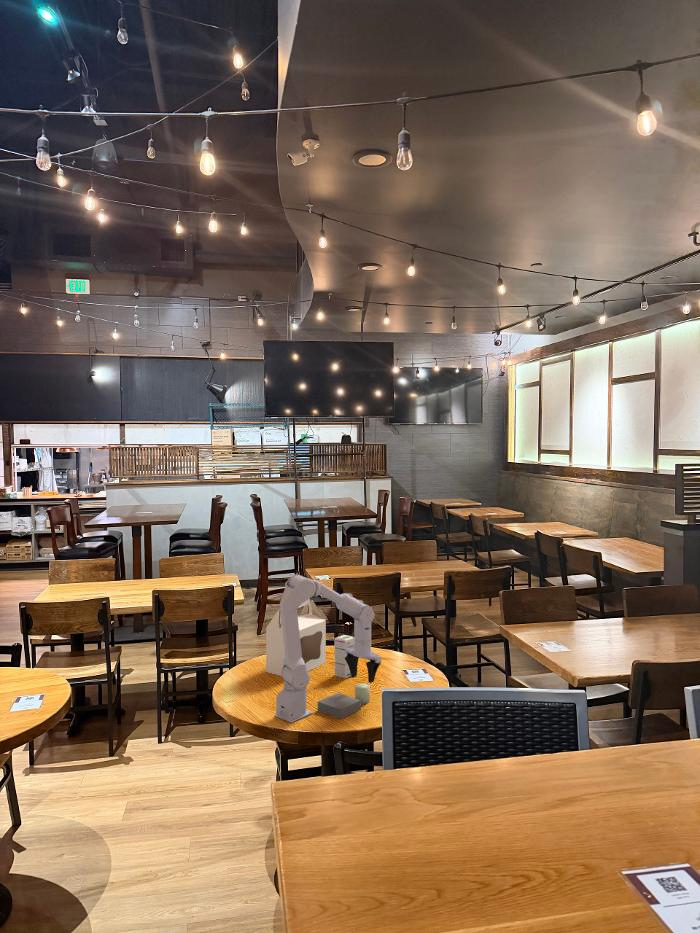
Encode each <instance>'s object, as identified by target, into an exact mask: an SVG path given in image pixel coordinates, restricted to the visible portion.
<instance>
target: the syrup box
mask: <svg viewBox="0 0 700 933" xmlns="http://www.w3.org/2000/svg"><path fill="white" fill-rule="evenodd" d="M333 641H334V676H336V677H338V676H339V678H342V679H348V678H350V677H351V673H350V669H349V666H348V664H347V662H346V660H345V657H346V656H347V655H346V654H345V648H348V647H349V648H354V636H352V635H348V634H347V635H346V634H342V635H340V636H337V637H334V640H333Z"/></svg>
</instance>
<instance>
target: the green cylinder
mask: <svg viewBox="0 0 700 933" xmlns="http://www.w3.org/2000/svg"><path fill="white" fill-rule="evenodd" d="M370 692H371V686H370V684H367V683H357V684H356V685H354V698H355V699H358V700H361V705H366V704H369V703H370V700H371V699H370V696H371V694H370Z"/></svg>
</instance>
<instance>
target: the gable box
mask: <svg viewBox="0 0 700 933" xmlns="http://www.w3.org/2000/svg"><path fill="white" fill-rule="evenodd" d="M302 607H303V608H302ZM299 608H302V610H301V611H300V612H301V613H300V614H299V615H298V624H299V634H300V643H301V653H302V658H303V660H304V663H305V665H306V670H307V672H308V673H309V671H312V670H313V669H316V668H318V667H320V666H321V665H324V664H325V663H326V659H327V658H326V657H327V656H326V654H327V653H326V650H327V649H326V648H327V646H326V645H327V643H326V641H327V640H326V639H327V638H326V636H327V633H326V631H327V630H326V629H327V628H326V626H327V625H326V624H327V623H326V622H327V621H326V618H325V617H324V615H323V614H322V612H321V611H320V609H319V607H318V606H317V604H316V602H315V601H314V600H313V599H311V598H310V599H308V600H307V601H305V602H304V603H302V604H301V605H300V606H299V607H298V608H297V609H299ZM265 631H266V634H265V637H266V638H265V640H266V642H265V643H266V644H265V645H266V646H265V647H266V648H265V653H266V654H265V662H266V663H265V666H266V667H265V672H266V673H267V672H268V673H267V674H271V673H272V674H273V675H275V674H276V676H281V677H282V675H281V671H282V668H283V660H284V659H285V649H284V639H283V630H282V621H281V611H280V608H279V609H278V610H277V612H276V613H275V614H274V616H273V617H272V619H271V620H270V622H269V623H268V624H267V626H266V628H265Z"/></svg>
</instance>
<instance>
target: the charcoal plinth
mask: <svg viewBox="0 0 700 933" xmlns="http://www.w3.org/2000/svg"><path fill="white" fill-rule="evenodd" d="M360 710H362V704H361V700H358V699H355V697H353V696H348V695H346V694H344V693H340V692H336V693H334V694H332V695H330V696H327V697H325V698H322V699H320V700H318V701H317V711H318V712H321V713H323V714H325V713H326V715H329V716H331V717H333V718H337V719H339V720H341V719H344V718H346V717H348V716H350V715H353V714H354V713H356V712H358V711H360Z"/></svg>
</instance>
